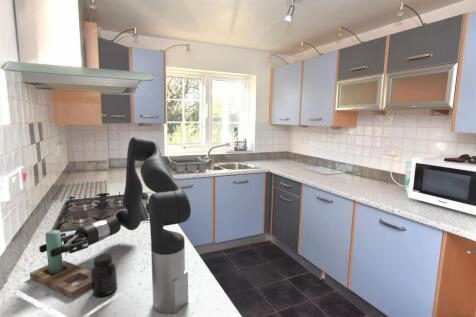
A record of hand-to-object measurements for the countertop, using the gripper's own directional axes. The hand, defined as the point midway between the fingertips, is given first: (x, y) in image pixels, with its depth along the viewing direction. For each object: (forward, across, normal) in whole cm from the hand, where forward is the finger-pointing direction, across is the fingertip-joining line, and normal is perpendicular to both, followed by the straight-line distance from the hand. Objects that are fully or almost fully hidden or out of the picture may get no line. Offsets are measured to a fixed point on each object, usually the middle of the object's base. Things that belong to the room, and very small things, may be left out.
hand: (45, 251), depth 91 cm
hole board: (-3, +6, +10) cm, 12 cm away
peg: (-3, 0, +10) cm, 11 cm away
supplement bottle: (-5, +22, +11) cm, 24 cm away
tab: (-13, +6, +10) cm, 17 cm away
